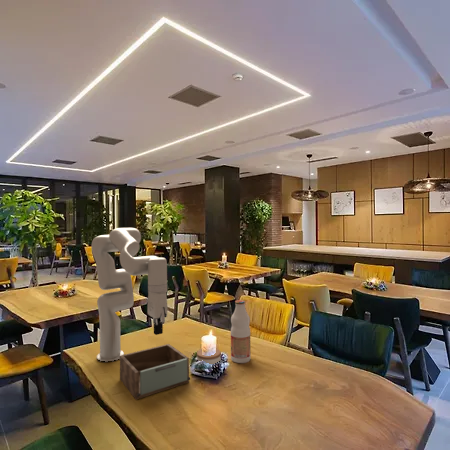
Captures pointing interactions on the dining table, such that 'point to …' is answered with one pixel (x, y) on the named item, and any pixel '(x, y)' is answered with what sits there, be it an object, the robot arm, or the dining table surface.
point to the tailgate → (163, 376)
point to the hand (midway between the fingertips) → (158, 333)
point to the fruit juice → (240, 334)
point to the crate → (147, 366)
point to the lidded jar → (209, 357)
